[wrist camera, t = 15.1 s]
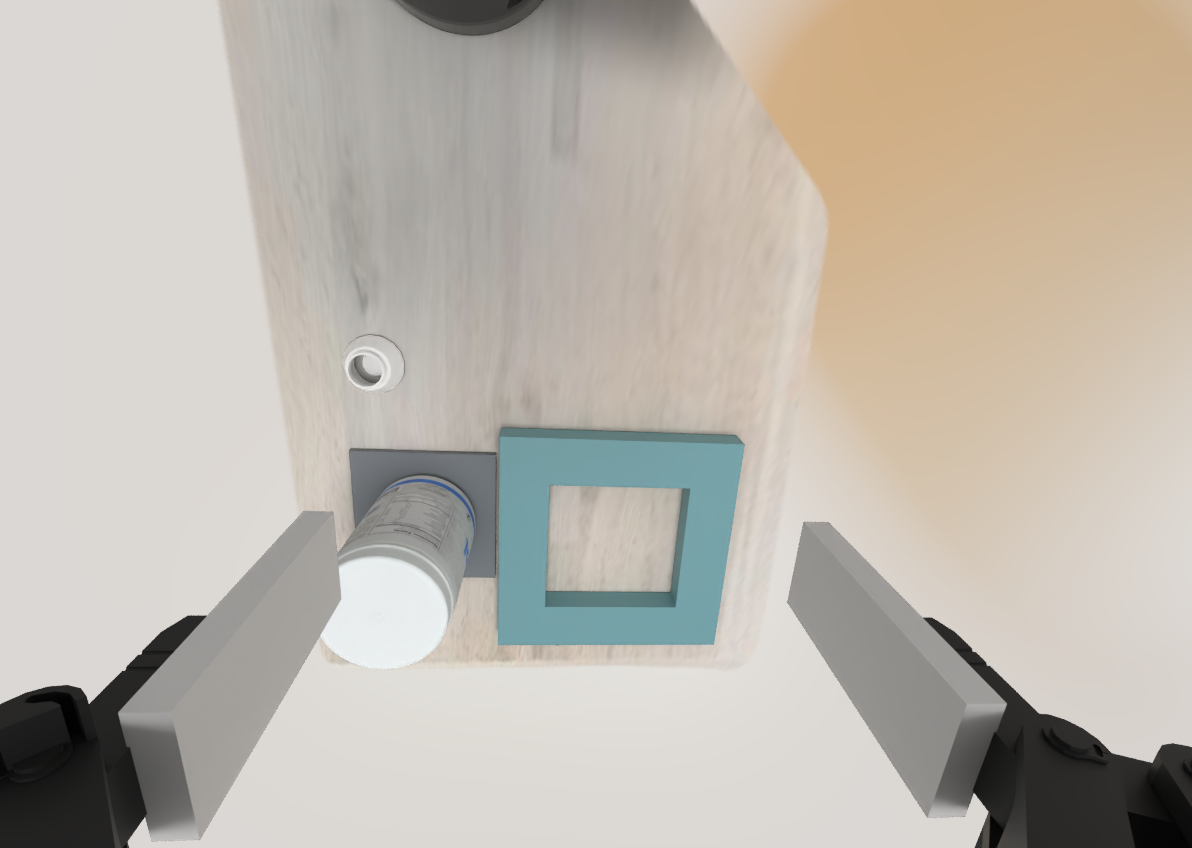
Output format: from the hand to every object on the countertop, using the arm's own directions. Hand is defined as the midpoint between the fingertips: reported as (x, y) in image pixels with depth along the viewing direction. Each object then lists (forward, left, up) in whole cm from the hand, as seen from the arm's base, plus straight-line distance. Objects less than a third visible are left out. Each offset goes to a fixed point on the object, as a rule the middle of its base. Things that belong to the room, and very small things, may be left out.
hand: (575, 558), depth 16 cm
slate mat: (+17, -12, -35) cm, 40 cm away
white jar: (+3, -16, -35) cm, 38 cm away
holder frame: (+19, +6, -35) cm, 40 cm away
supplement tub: (+17, -12, -34) cm, 40 cm away
